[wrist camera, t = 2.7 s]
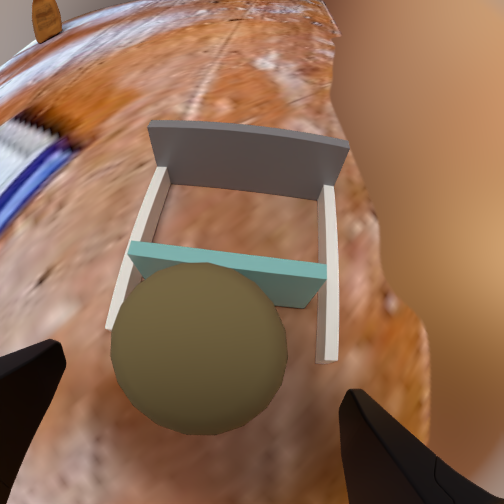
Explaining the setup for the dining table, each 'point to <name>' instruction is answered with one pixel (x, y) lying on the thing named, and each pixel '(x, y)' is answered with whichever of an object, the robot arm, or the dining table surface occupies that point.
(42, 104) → the dining table surface
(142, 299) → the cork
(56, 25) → the coffee package
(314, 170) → the pusher lane
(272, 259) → the pusher paddle
